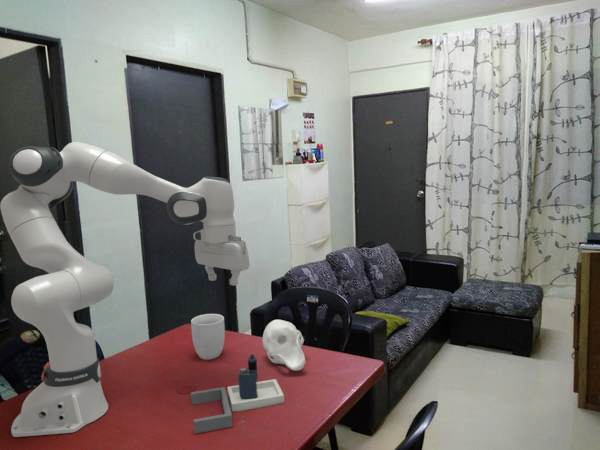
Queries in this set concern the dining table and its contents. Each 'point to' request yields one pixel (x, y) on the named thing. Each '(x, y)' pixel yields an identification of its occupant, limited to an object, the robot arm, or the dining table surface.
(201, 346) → the mug
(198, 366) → the dining table surface
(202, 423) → the bay
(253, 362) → the vaping device
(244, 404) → the tray
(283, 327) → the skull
